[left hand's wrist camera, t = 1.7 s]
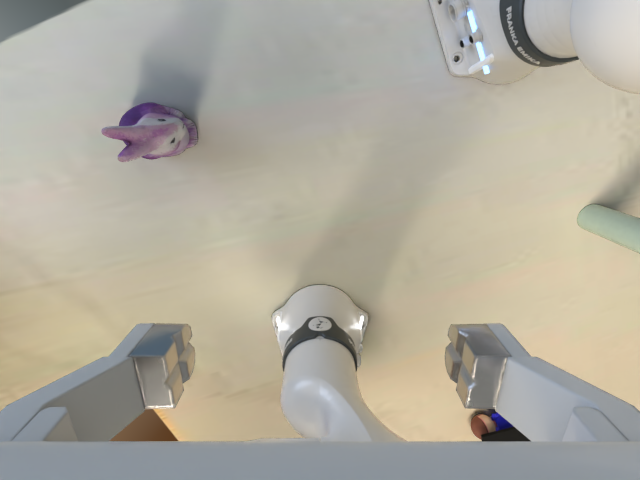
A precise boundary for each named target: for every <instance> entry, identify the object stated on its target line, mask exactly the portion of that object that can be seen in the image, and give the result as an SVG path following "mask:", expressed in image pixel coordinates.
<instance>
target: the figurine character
mask: <svg viewBox="0 0 640 480" xmlns="http://www.w3.org/2000/svg"><path fill="white" fill-rule="evenodd" d="M471 429H472V431H473V433H474V434H475V436H476V437H478V438H479V439H481V440H482V441H530V440H529V439H528V438H527V437H526V436H525V435H523V434H522V433H521V432H520V431H519V430H517V429H516V428H515V427H514V426H513V425H512V424H510V423H509V422H508V421H507V420H506V419H504V418H503V417H502V416H501V415H500V414H499V413H495V414H494V413H493V414H492V416H491V418H489V417H488V416H486V415H483V414H478V415H476V416H474V417H473V419H472V421H471Z"/></svg>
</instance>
